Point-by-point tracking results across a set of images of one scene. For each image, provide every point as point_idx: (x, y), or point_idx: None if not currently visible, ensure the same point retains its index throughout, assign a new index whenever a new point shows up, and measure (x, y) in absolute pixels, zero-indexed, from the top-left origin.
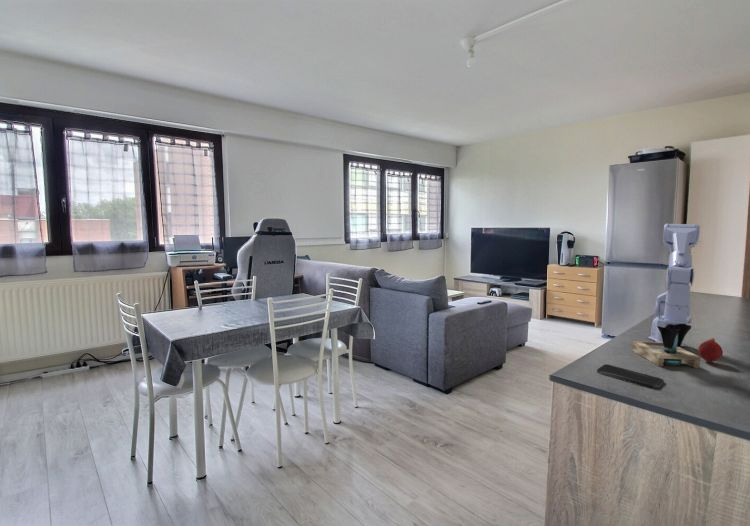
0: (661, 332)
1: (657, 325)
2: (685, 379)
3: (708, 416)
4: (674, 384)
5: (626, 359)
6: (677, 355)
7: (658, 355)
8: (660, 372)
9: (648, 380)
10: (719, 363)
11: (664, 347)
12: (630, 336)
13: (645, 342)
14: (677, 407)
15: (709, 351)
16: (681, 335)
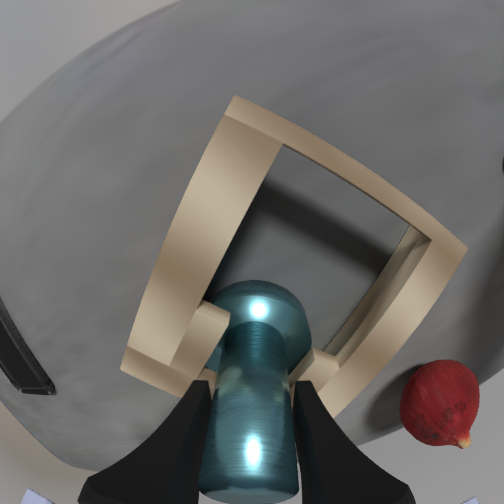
0: (133, 459)
1: (28, 492)
2: (131, 415)
3: (49, 445)
4: (73, 405)
5: (70, 217)
6: None
7: (122, 363)
8: (96, 363)
9: (18, 371)
10: None
11: (228, 362)
12: (481, 5)
13: (318, 162)
14: (23, 418)
15: (405, 426)
16: (302, 483)
